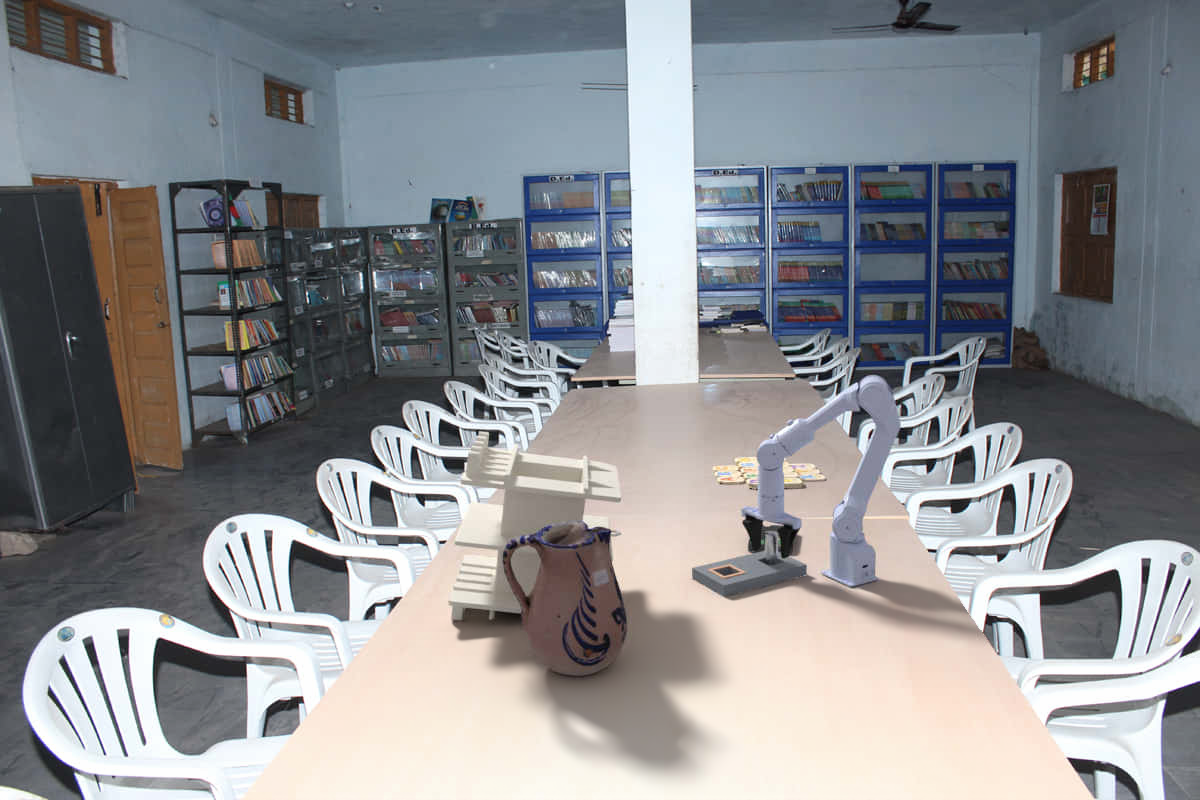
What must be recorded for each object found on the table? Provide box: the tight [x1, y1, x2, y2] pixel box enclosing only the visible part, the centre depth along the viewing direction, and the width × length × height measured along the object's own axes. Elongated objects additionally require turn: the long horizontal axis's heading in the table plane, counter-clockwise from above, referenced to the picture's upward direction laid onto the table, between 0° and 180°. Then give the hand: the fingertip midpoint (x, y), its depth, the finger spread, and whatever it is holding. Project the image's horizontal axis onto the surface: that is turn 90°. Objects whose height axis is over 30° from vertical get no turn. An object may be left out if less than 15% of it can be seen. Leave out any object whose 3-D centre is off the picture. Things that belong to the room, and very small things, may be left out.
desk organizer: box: [448, 431, 622, 622], centre depth 189 cm, size 26×31×35 cm
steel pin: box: [764, 531, 778, 566], centre depth 201 cm, size 3×3×9 cm
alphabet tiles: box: [712, 456, 826, 490], centre depth 282 cm, size 33×33×2 cm
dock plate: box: [691, 551, 808, 598], centre depth 199 cm, size 12×22×3 cm, turn 117°
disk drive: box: [747, 524, 795, 555], centre depth 221 cm, size 10×3×15 cm
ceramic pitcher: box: [502, 521, 628, 677], centre depth 159 cm, size 18×21×25 cm
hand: (770, 553), depth 201 cm, fingers open, 7 cm apart
